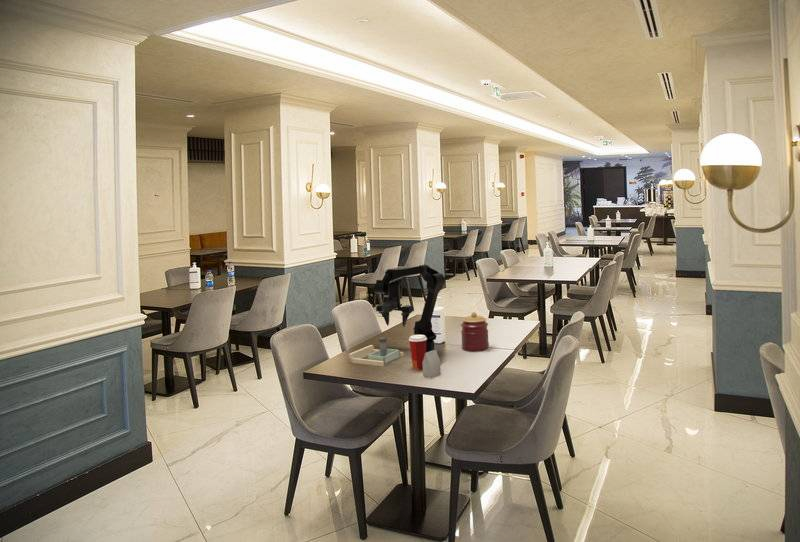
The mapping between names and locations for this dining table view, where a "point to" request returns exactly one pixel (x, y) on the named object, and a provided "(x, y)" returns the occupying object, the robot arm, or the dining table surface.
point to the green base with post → (384, 353)
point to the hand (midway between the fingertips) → (395, 325)
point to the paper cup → (418, 350)
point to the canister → (474, 333)
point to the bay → (359, 354)
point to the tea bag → (431, 364)
